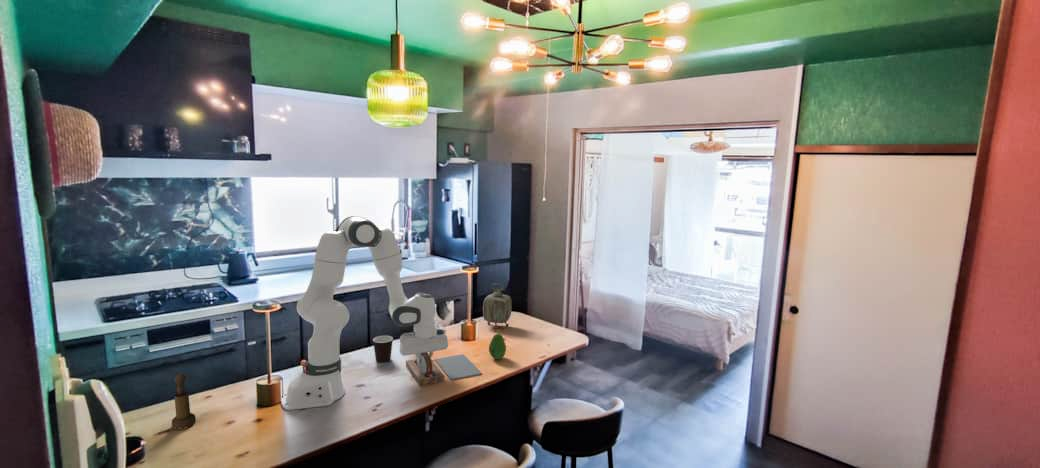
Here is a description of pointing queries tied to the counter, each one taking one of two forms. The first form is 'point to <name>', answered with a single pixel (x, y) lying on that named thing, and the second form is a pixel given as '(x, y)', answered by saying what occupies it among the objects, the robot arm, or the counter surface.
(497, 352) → the avocado
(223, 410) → the counter surface
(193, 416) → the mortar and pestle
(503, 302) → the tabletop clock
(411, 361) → the frame
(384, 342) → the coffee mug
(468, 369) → the mat
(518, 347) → the counter surface
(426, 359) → the tin
